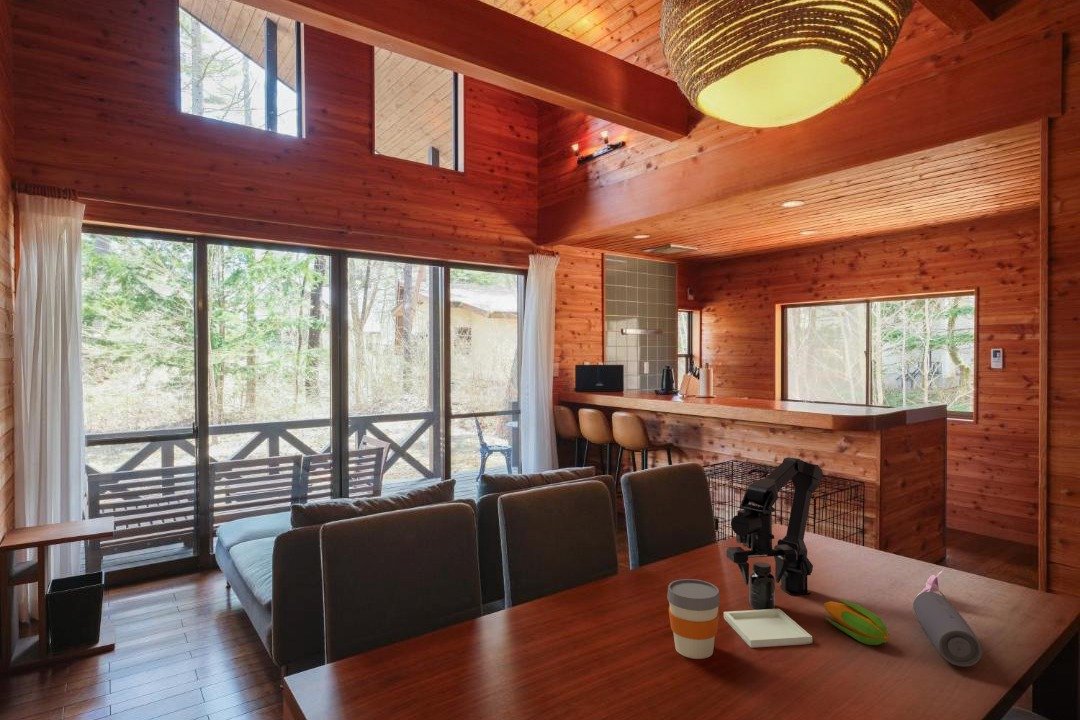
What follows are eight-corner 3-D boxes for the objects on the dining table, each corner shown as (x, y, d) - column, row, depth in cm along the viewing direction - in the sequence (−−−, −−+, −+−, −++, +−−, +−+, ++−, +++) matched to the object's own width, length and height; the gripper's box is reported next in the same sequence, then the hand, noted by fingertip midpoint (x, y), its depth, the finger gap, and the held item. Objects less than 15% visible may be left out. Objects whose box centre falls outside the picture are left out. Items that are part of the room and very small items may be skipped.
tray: (779, 615, 159) (779, 608, 159) (812, 643, 143) (812, 636, 143) (723, 618, 158) (723, 611, 158) (750, 647, 142) (750, 640, 142)
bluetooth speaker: (985, 676, 128) (985, 631, 128) (936, 668, 131) (936, 625, 131) (952, 630, 150) (952, 591, 149) (910, 624, 153) (910, 587, 153)
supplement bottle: (778, 611, 162) (778, 568, 161) (754, 611, 162) (753, 569, 162) (769, 601, 168) (769, 560, 168) (746, 601, 169) (745, 560, 168)
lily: (936, 595, 174) (917, 564, 176) (974, 593, 163) (953, 561, 166) (914, 615, 168) (895, 584, 171) (952, 615, 158) (930, 582, 160)
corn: (873, 622, 138) (812, 589, 157) (872, 654, 138) (811, 617, 157) (898, 620, 140) (835, 588, 159) (896, 651, 140) (833, 616, 159)
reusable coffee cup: (692, 668, 133) (691, 603, 133) (657, 644, 144) (656, 584, 144) (732, 654, 139) (731, 592, 139) (695, 632, 150) (694, 575, 150)
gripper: (778, 519, 174) (778, 571, 174) (718, 522, 172) (719, 574, 172) (798, 530, 163) (798, 586, 163) (734, 533, 161) (735, 589, 161)
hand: (761, 583), depth 165 cm, fingers open, 9 cm apart
